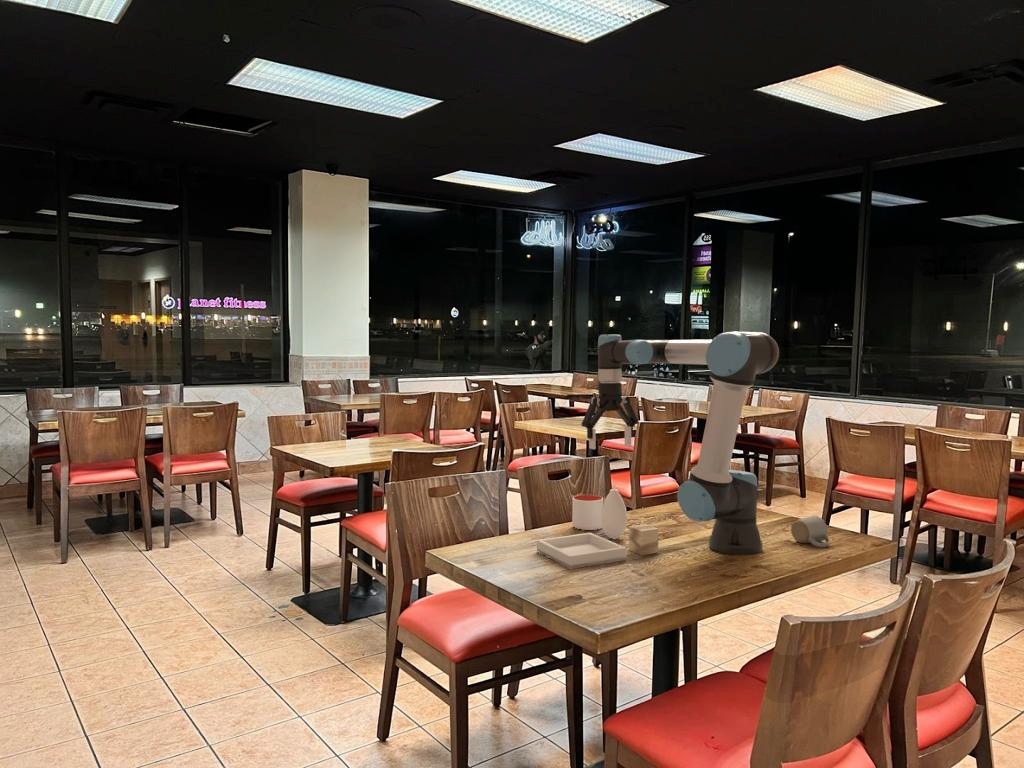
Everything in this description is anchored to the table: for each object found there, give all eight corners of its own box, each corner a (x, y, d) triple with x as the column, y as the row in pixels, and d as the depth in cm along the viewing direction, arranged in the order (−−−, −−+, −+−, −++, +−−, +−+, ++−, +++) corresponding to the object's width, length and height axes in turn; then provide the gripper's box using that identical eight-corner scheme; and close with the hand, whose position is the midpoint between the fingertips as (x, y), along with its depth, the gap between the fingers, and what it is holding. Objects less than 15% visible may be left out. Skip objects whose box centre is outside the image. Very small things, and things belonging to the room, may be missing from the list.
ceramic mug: (788, 540, 226) (789, 515, 225) (808, 537, 229) (809, 513, 229) (816, 549, 216) (817, 524, 216) (836, 546, 220) (837, 521, 219)
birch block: (658, 552, 213) (658, 528, 213) (641, 555, 211) (641, 531, 210) (645, 547, 219) (645, 524, 218) (628, 549, 216) (629, 526, 216)
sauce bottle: (597, 536, 231) (597, 479, 230) (619, 534, 233) (620, 478, 232) (607, 542, 223) (608, 484, 222) (631, 540, 225) (631, 482, 224)
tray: (626, 560, 206) (626, 547, 205) (569, 569, 197) (569, 556, 197) (590, 544, 222) (590, 532, 222) (536, 551, 214) (536, 540, 214)
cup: (566, 526, 244) (566, 496, 243) (592, 522, 248) (592, 493, 247) (582, 533, 235) (582, 502, 234) (608, 529, 239) (609, 499, 238)
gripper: (635, 380, 247) (635, 443, 248) (570, 382, 236) (571, 448, 237) (648, 381, 240) (648, 446, 241) (582, 383, 230) (583, 451, 230)
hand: (610, 447), depth 239 cm, fingers open, 13 cm apart
